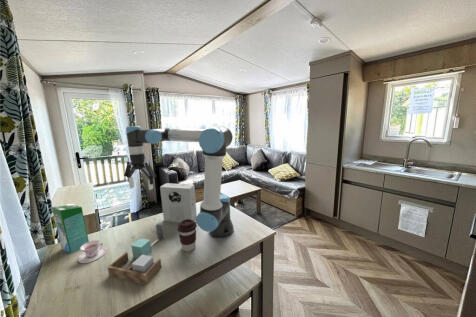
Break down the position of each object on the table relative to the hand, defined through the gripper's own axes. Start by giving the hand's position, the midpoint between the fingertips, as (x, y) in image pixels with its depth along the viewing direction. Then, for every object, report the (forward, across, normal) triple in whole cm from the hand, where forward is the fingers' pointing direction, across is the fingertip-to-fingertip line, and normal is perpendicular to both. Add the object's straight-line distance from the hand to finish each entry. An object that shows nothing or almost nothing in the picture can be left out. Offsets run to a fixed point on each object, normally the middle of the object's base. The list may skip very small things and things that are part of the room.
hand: (141, 188), depth 112 cm
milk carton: (+29, +30, +21) cm, 47 cm away
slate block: (+29, -22, +28) cm, 46 cm away
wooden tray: (+29, -18, +28) cm, 43 cm away
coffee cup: (+29, -33, +7) cm, 44 cm away
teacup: (+29, +14, +24) cm, 40 cm away
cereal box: (+29, -12, -18) cm, 37 cm away
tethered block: (+29, -12, +12) cm, 33 cm away
